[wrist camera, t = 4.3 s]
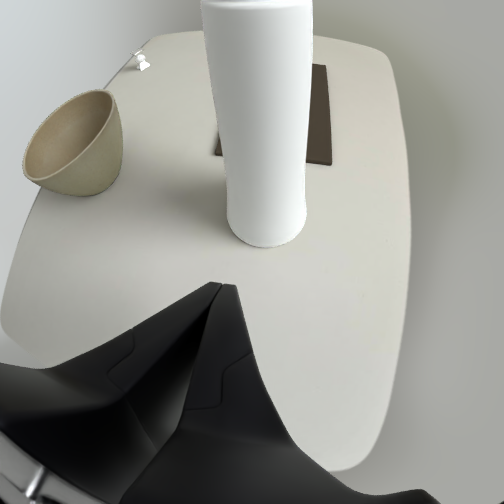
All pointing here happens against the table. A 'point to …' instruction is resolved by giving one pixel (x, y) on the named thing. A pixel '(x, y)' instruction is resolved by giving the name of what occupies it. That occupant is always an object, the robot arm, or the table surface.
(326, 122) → the mat
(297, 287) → the table surface
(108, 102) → the bowl
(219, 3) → the cosmetic bottle
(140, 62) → the wrapped candy
